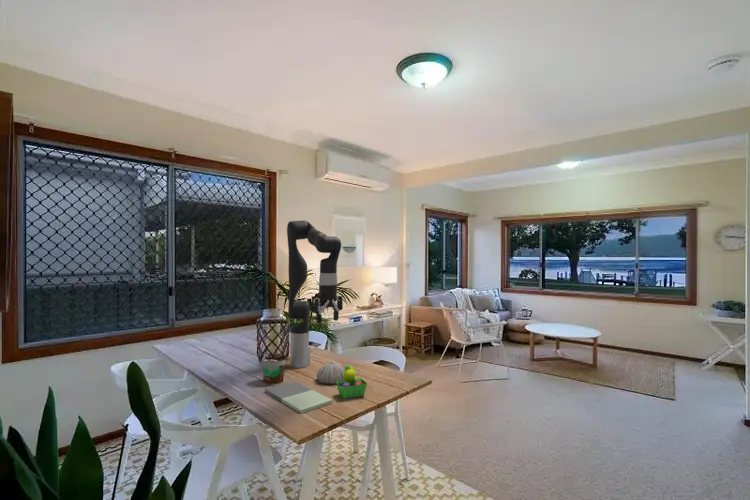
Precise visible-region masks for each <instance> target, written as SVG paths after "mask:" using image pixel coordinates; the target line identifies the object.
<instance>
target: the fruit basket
mask: <svg viewBox="0 0 750 500" xmlns="http://www.w3.org/2000/svg"><path fill="white" fill-rule="evenodd" d="M344 370H345V371H344V374H343V378H344V380H343V381H337V382H336V383H335V384H336V385H337V390H338V394H339V396H340V397H341V398H342V399H348V398H349V399H350V398H355V397H363V395H365V392H366V389H367V386H368V382H366V380H364V379H363V378H361V377H360V378H359V377H358V378H355V377H357V372H356V370H355V369H354V367H353V366H351V365H350V364H349V365H346V366H345V368H344Z"/></svg>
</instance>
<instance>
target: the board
mask: <svg viewBox="0 0 750 500" xmlns="http://www.w3.org/2000/svg"><path fill="white" fill-rule="evenodd" d="M264 392H265V393H267V395H270V396H271V397H273V398H275V399H276V400H278V401H279V402H281V403H282V404H285V405H286V406H288V407H290V408H291V409H292V410H294V411H296V412H298V413H300V414H304V413H307V412H309V411H312V410H315V409H319V408H321V407H324V406H327V405H331V404H333V399H331V398H329V397H328V396H326V395H323V394H321V393H319V392H318V391H315V390H313V389H311V388H309V387H307V386H305V385H303V384H301V383H300V382H298V381H295V380H294V381H289V382H286V383H283V384H279V385H275V386H271V387H267V388H264Z"/></svg>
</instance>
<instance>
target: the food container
mask: <svg viewBox="0 0 750 500" xmlns="http://www.w3.org/2000/svg"><path fill="white" fill-rule="evenodd" d="M260 365H261V367H262V375H263V377H262V379H263V382H264V384H268V385H269V384H270V385H273V384H274V385H275V384H281V383H284V376H285V367H286V365H287V361H286V359H283V360H278V359H275V358H273V359H272V358H271V359H268V358H266V356H263V357H262V358H261V361H260Z"/></svg>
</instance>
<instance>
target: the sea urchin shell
mask: <svg viewBox="0 0 750 500" xmlns="http://www.w3.org/2000/svg"><path fill="white" fill-rule="evenodd" d="M344 371H345V368H344V367H343V366H342V365H341V364H339V363H338V362H333V361H332V362H328V363H326V364H323V365H322V366H321V367H320V368H319V369H318V371H317V372H316V373H317V374H316V379H317V380H318V382H320V383H322V384H336V382H337V381H343V380H344V378H343V374H344Z"/></svg>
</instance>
